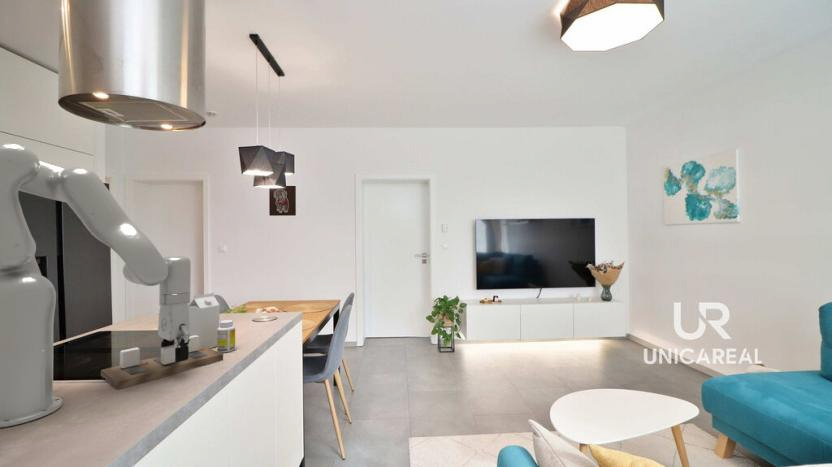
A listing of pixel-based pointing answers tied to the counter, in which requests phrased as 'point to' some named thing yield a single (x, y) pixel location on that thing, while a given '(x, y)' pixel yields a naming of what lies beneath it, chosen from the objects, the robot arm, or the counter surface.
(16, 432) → the counter surface
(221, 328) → the supplement bottle
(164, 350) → the knob middle
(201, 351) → the switch board
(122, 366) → the knob left
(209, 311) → the milk carton
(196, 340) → the knob right
